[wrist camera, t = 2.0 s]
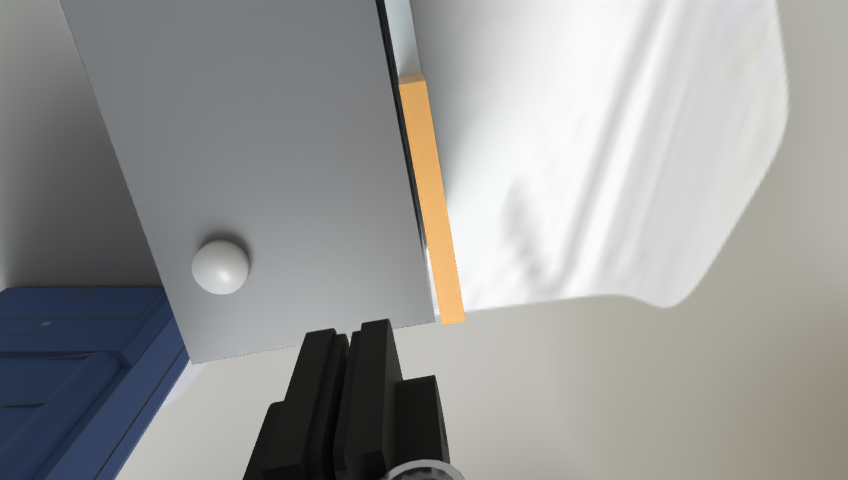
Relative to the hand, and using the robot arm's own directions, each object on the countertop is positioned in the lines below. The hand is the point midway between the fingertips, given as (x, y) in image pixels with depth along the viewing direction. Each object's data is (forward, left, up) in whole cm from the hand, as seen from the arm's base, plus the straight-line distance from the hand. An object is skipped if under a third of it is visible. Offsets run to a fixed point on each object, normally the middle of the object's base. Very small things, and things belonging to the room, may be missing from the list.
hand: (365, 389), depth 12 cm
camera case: (-2, -4, -19) cm, 19 cm away
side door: (-3, +2, -18) cm, 19 cm away
